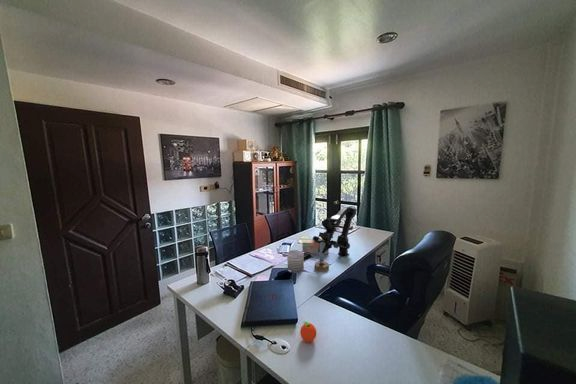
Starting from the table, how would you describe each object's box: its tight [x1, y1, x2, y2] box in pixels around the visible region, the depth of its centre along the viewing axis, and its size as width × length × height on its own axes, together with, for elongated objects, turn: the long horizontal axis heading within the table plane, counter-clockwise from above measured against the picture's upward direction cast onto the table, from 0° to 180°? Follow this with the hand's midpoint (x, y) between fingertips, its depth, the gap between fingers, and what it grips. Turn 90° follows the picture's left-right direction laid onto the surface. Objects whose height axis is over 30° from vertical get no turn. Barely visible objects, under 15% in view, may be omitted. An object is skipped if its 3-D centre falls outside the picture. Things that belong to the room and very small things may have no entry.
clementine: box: [299, 321, 317, 343], centre depth 98 cm, size 8×7×7 cm
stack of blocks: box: [301, 236, 330, 255], centre depth 189 cm, size 21×6×12 cm, turn 85°
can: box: [286, 249, 305, 274], centre depth 160 cm, size 11×11×12 cm
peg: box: [319, 243, 325, 262], centre depth 160 cm, size 3×3×12 cm
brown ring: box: [314, 260, 330, 273], centre depth 161 cm, size 10×10×3 cm
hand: (320, 252), depth 159 cm, fingers closed on peg, 3 cm apart
